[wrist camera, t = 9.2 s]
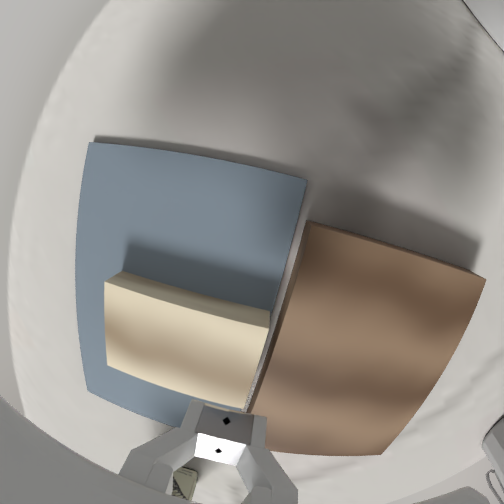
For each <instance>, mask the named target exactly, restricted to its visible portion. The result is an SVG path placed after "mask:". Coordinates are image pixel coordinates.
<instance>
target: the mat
mask: <svg viewBox="0 0 504 504" xmlns="http://www.w3.org/2000/svg"><path fill="white" fill-rule="evenodd" d="M306 184H307V180H306V179H302V178H298V177H295V176H291V175H287V174H283V173H279V172H275V171H270V170H266V169H262V168H258V167H253V166H249V165H244V164H239V163H234V162H230V161H225V160H219V159H214V158H209V157H203V156H198V155H192V154H186V153H180V152H173V151H166V150H159V149H152V148H144V147H136V146H127V145H117V144H107V143H94V142H89V145H88V150H87V155H86V160H85V166H84V171H83V178H82V184H81V192H80V200H79V209H78V220H77V234H76V259H75V282H76V307H77V321H78V332H79V341H80V349H81V356H82V363H83V369H84V374H85V380H86V385H87V390H88V391H89V392H91V393H93V394H95V395H97V396H99V397H101V398H103V399H105V400H107V401H109V402H111V403H113V404H116V405H118V406H120V407H122V408H125V409H127V410H130V411H132V412H134V413H137V414H139V415H142V416H144V417H147V418H150V419H152V420H155V421H158V422H161V423H164V424H167V425H170V426H173V427H178V428H180V427H181V424H182V422H183V419H184V417H185V414H186V412H187V409H188V407H189V404H190V402H191V400H192V399H194V400H198V401H201V402H204V403H208V404H211V405H215V406H218V407H222V408H226V409H231V410H235V411H241V408H236V407H232V406H228V405H223V404H219V403H215V402H211V401H208V400H204V399H200V398H197V397H193V396H190V395H187V394H183V393H180V392H177V391H174V390H171V389H168V388H165V387H162V386H159V385H156V384H153V383H150V382H148V381H145V380H142V379H140V378H137V377H135V376H132V375H129V374H127V373H125V372H122V371H120V370H117V369H115V368H113V367H110V366H108V365H107V355H106V341H105V317H104V281H106V280H108V279H109V278H111V277H113V276H114V275H116V274H118V273H119V272H121V271H125V272H128V273H131V274H134V275H137V276H141V277H144V278H147V279H150V280H154V281H157V282H160V283H164V284H167V285H171V286H174V287H178V288H181V289H185V290H188V291H192V292H196V293H199V294H203V295H207V296H211V297H215V298H218V299H222V300H226V301H230V302H234V303H238V304H242V305H246V306H250V307H255V308H259V309H263V310H267V311H270V317H271V313H272V310H273V306H274V303H275V300H276V296H277V293H278V289H279V286H280V282H281V279H282V275H283V272H284V268H285V264H286V261H287V257H288V253H289V250H290V246H291V242H292V239H293V235H294V231H295V227H296V223H297V220H298V216H299V212H300V208H301V204H302V200H303V196H304V192H305V188H306Z"/></svg>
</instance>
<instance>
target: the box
mask: <svg viewBox="0 0 504 504" xmlns="http://www.w3.org/2000/svg"><path fill="white" fill-rule="evenodd" d="M196 482H197V472H195V471H193V470H189V469H186V468H183V467H180V468H178V469H177V470H176V471H174V472H173V491H172V494H171V495H172V496H176V497H179V498H182V499H186V500H189V501H191V500H192V497H193V494H194V490H195V487H196Z"/></svg>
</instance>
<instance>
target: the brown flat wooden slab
mask: <svg viewBox="0 0 504 504" xmlns="http://www.w3.org/2000/svg"><path fill="white" fill-rule="evenodd" d="M485 282H486V279H484V278H483V277H481V276H479V275H477V274H475V273H473V272H471V271H470V270H467V269H464V268H461V267H459V266H456V265H453V264H450V263H447V262H444V261H441V260H438V259H435V258H432V257H429V256H426V255H423V254H420V253H417V252H414V251H411V250H408V249H405V248H402V247H398V246H395V245H392V244H389V243H385V242H382V241H379V240H376V239H372V238H369V237H365V236H362V235H359V234H355V233H352V232H348V231H345V230H341V229H338V228H334V227H330V226H327V225H323V224H319V223H316V222H312V221H308V220H306V223H305V227H304V231H303V235H302V238H301V242H300V246H299V249H298V253H297V256H296V260H295V263H294V267H293V270H292V274H291V277H290V281H289V284H288V288H287V291H286V294H285V298H284V301H283V304H282V308H281V311H280V314H279V317H278V321H277V324H276V327H275V330H274V333H273V336H272V339H271V343H270V346H269V349H268V352H267V355H266V358H265V361H264V364H263V367H262V370H261V373H260V376H259V378H258V381H257V384H256V387H255V390H254V393H253V396H252V398H251V401H250V404H249V407H248V410H247V412H246V413H250V414H254V415H259V416H265V417H267V427H266V440H265V448H267V449H269V450H270V451H276V452H284V453H294V454H305V455H323V456H366V455H381V454H382V453H383V452H384V451H385V450H386V449H387V447H388V446H389V445H390V444H391V443H392V442H393V441H394V439H395V438H396V437H397V436H398V435H399V433H400V432H401V431H402V430H403V429H404V427H405V426H406V425H407V424H408V422H409V421H410V420H411V418H412V417H413V416H414V414H415V413H416V412H417V410H418V409H419V408H420V406H421V405H422V404H423V402H424V401H425V399H426V398H427V396H428V395H429V393H430V392H431V390H432V389H433V387H434V386H435V384H436V383H437V381H438V379H439V378H440V376H441V375H442V373H443V371H444V370H445V368H446V366H447V364H448V363H449V361H450V359H451V357H452V356H453V354H454V352H455V350H456V348H457V346H458V344H459V342H460V340H461V338H462V336H463V334H464V332H465V330H466V328H467V326H468V324H469V322H470V320H471V317H472V315H473V313H474V310H475V308H476V306H477V303H478V301H479V298H480V296H481V293H482V290H483V288H484V285H485Z"/></svg>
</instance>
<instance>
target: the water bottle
mask: <svg viewBox="0 0 504 504" xmlns="http://www.w3.org/2000/svg"><path fill="white" fill-rule="evenodd" d="M482 449H483V450H484V452H485V454H486V456H487V457H488V459H489V461H490V463H491V465H492V466H493V468H494V470H490V471H488V472H487V474H486V479H487V482H488V485H489V488H490V489H491V490H492V492H493V493H494V495H495V496H496V498H497V499H498V501H499V502H500V504H504V503H503V501H502V500H501V498H500V497H499V495H498V494H497V492H496V491H495V489H494V488H493V486H492V484H491V481H490V479H489V473H490V472H492V473H495V475H496V477H497V479H498V481H499V483H500V486H501V487H502V490H503V492H504V417H503V418H502V419H501V420H500V421H499V422H498V423H497V424H496V425H495V426H494V427H493V428H492V429H491V430H490V431H489V433H488V434H487V435H486V436H485V438H484V440H483V443H482Z"/></svg>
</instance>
